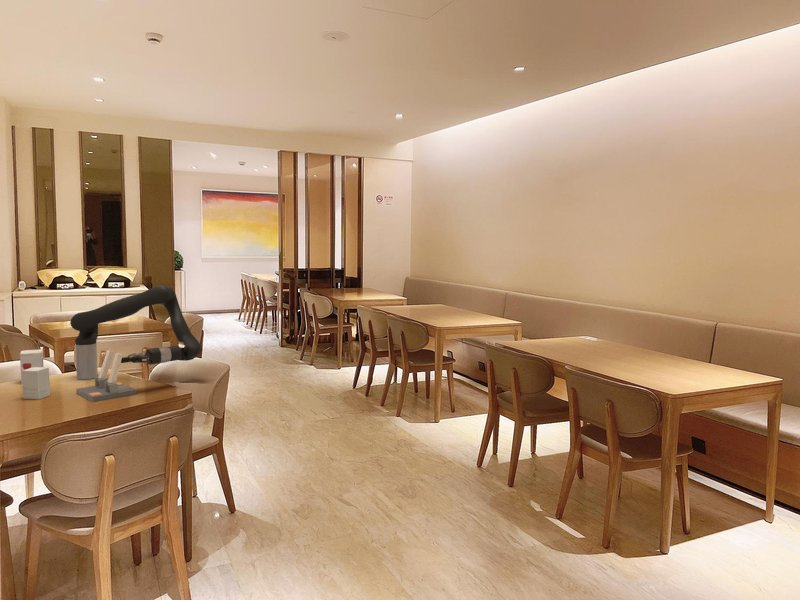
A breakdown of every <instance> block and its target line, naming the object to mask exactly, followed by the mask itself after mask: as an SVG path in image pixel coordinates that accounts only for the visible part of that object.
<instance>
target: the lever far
mask: <svg viewBox="0 0 800 600" xmlns="http://www.w3.org/2000/svg"><path fill="white" fill-rule="evenodd" d="M114 355H115V351H114V350H111V349H107V350H106V354H105V357H104V359H103V363H102V364H101V368H100V371H99V373H98V379H97V382H99V380H100V379H107V375H108V372H109V369H110V366H111V363H112V360H113V357H114Z"/></svg>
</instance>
